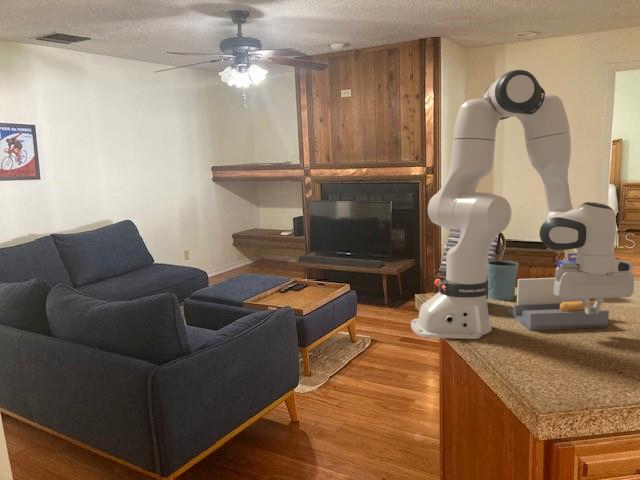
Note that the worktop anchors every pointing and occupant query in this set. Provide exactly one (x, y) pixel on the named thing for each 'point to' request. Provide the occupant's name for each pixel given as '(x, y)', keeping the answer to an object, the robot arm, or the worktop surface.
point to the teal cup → (502, 279)
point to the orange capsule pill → (574, 306)
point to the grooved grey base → (556, 317)
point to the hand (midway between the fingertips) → (591, 313)
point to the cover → (538, 292)
